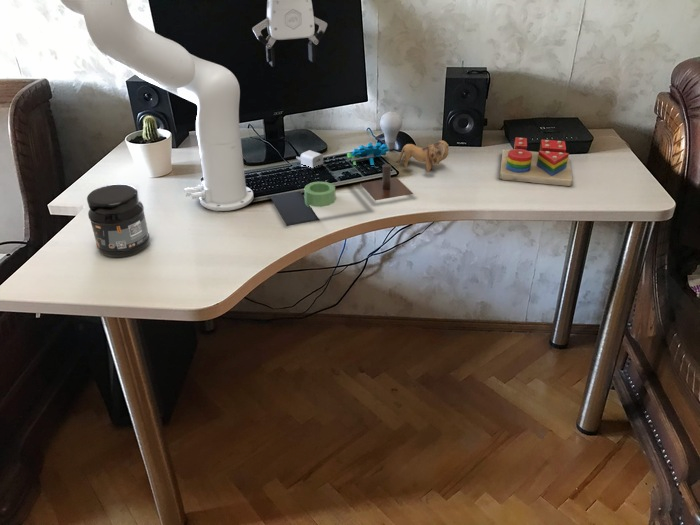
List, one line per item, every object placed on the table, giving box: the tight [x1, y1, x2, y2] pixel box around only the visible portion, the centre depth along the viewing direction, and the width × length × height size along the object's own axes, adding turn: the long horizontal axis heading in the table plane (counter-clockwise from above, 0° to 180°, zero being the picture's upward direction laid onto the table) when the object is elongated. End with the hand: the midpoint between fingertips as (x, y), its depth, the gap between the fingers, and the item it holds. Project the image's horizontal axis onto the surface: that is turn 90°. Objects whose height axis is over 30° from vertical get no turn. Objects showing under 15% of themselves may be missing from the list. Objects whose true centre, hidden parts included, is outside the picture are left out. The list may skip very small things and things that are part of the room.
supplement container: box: [86, 183, 151, 258], centre depth 121 cm, size 10×10×12 cm
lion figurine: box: [395, 140, 450, 172], centre depth 154 cm, size 15×5×9 cm, turn 67°
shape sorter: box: [499, 136, 573, 187], centre depth 155 cm, size 18×17×6 cm
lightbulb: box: [379, 111, 403, 151], centre depth 165 cm, size 6×6×11 cm
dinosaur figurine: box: [346, 142, 390, 166], centre depth 157 cm, size 11×6×10 cm
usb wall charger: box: [295, 149, 324, 169], centre depth 157 cm, size 4×7×4 cm, turn 49°
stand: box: [359, 163, 414, 201], centre depth 143 cm, size 10×10×7 cm
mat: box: [269, 190, 320, 226], centre depth 140 cm, size 20×15×1 cm
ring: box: [303, 181, 336, 208], centre depth 139 cm, size 7×7×4 cm
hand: (292, 63), depth 139 cm, fingers open, 9 cm apart
